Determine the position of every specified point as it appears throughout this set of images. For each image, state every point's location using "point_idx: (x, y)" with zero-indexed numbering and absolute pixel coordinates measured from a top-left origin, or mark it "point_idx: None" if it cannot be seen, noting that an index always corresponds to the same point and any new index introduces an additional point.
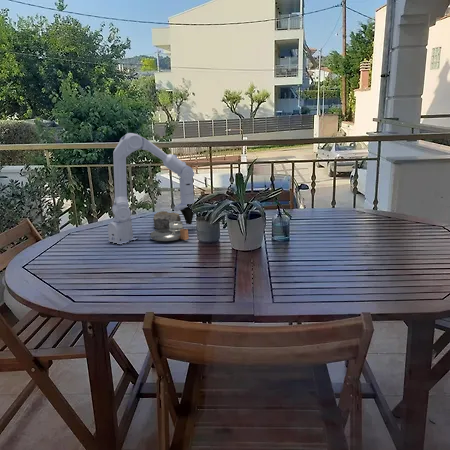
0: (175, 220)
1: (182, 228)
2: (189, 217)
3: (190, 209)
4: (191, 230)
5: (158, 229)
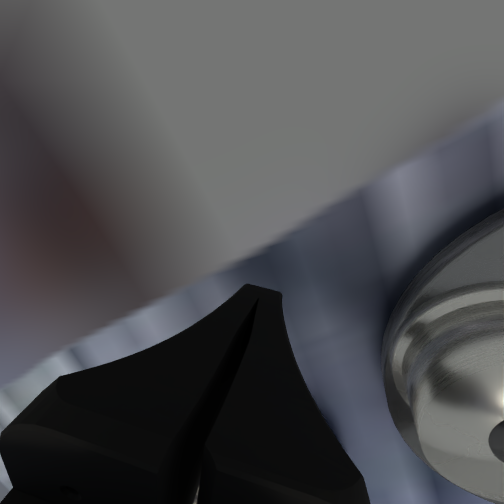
0: None
1: (491, 301)
2: (287, 349)
3: (237, 501)
4: (265, 252)
5: (483, 497)
